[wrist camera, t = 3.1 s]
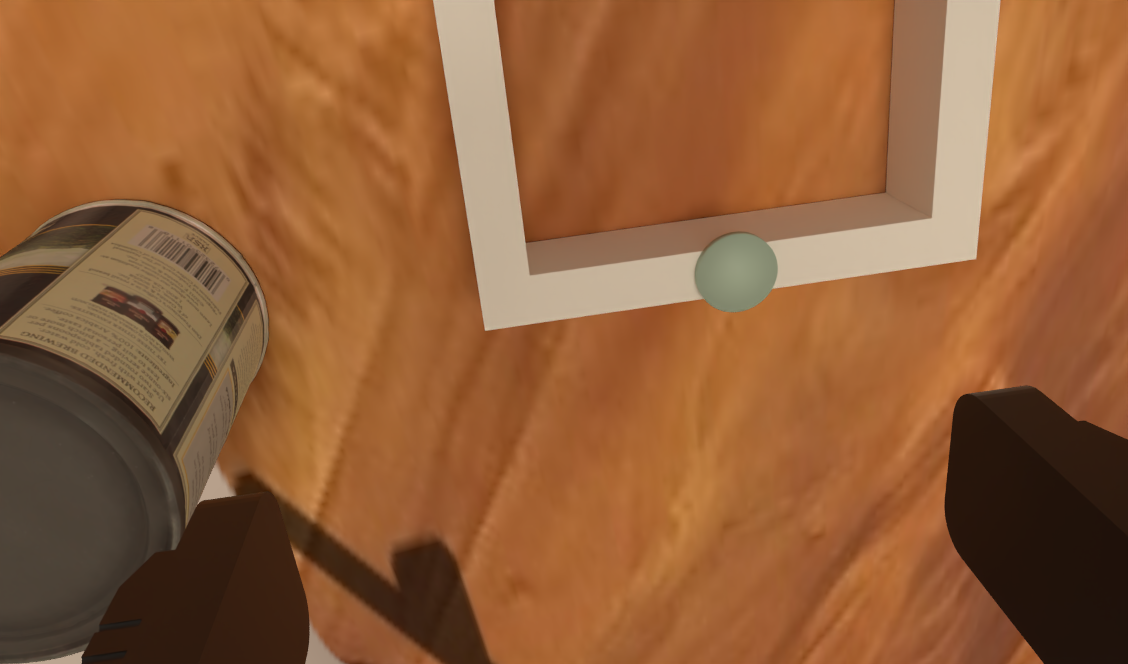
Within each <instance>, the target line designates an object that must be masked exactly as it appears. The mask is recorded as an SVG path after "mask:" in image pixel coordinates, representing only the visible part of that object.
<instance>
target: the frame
mask: <svg viewBox="0 0 1128 664" xmlns="http://www.w3.org/2000/svg"><path fill="white" fill-rule="evenodd" d="M433 3H434V9H435V16H436V22H437V28H438V35H439V41H440V47H441V54H442V60H443V67H444V73H445V79H446V86H447V92H448V98H449V105H450V111H451V117H452V124H453V130H454V136H455V143H456V149H457V155H458V162H459V168H460V174H461V181H462V187H463V194H464V200H465V206H466V213H467V219H468V225H469V232H470V238H471V244H472V251H473V257H474V263H475V270H476V276H477V282H478V289H479V295H480V302H481V308H482V314H483V321H484V327H485V331H487V330H494V329H501V328H508V327H514V326H521V325H528V324H535V323H542V322H549V321H555V320H562V319H569V318H576V317H583V316H590V315H596V314H603V313H610V312H617V311H624V310H631V309H637V308H644V307H651V306H658V305H665V304H672V303H678V302H685V301H692V300H699V299H705V300H706V302H708V303H709V304H710V305H711V306H713V307H714V308H716V309H718V310H721V311H725V312H740V311H745V310H748V309H750V308H752V307H754V306H756V305H757V304H759V303H760V302H761V301H763V300H764V299H765V298H766V297H767V295H768V294H769V293H770V291H771V290H772V289H774V288H781V287H788V286H795V285H801V284H808V283H815V282H822V281H829V280H836V279H842V278H849V277H856V276H863V275H870V274H877V273H883V272H890V271H897V270H904V269H911V268H918V267H924V266H931V265H938V264H945V263H952V262H959V261H965V260H972V259H976V254H977V244H978V233H979V222H980V212H981V201H982V191H983V180H984V169H985V159H986V148H987V138H988V127H989V116H990V106H991V95H992V85H993V74H994V64H995V53H996V42H997V32H998V21H999V11H1000V0H895V8H894V29H893V50H892V71H891V92H890V113H889V134H888V155H887V176H886V193H879V194H872V195H865V196H857V197H850V198H843V199H836V200H829V201H822V202H815V203H807V204H800V205H793V206H786V207H779V208H772V209H765V210H757V211H750V212H743V213H736V214H729V215H722V216H715V217H707V218H700V219H693V220H686V221H679V222H672V223H665V224H657V225H650V226H643V227H636V228H629V229H622V230H615V231H607V232H600V233H593V234H586V235H579V236H572V237H564V238H557V239H550V240H543V241H536V242H529V243H525V236H524V228H523V220H522V213H521V205H520V197H519V190H518V182H517V174H516V167H515V159H514V151H513V144H512V136H511V128H510V121H509V113H508V105H507V98H506V90H505V82H504V75H503V67H502V59H501V52H500V44H499V36H498V29H497V21H496V13H495V6H494V0H433Z"/></svg>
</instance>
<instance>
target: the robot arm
mask: <svg viewBox="0 0 1128 664" xmlns="http://www.w3.org/2000/svg"><path fill="white" fill-rule="evenodd" d="M945 517H946V523H947V527H948V531H949V534H950V537H951V539H952V542H953V544H954V546H955V548H956V550H957V552H958V553H959V555H960V556H961V558H962V559H963V560H964V562H965V563H966V564H967V566H968V567H969V568H970V569H971V571H972V572H973V573H974V575H975V576H976V577H977V578H978V580H979V581H980V582H981V583H982V585H983V586H984V587H985V589H986V590H987V591H988V592H989V594H990V595H991V596H992V598H993V599H994V600H995V601H996V603H997V604H998V605H999V607H1000V608H1001V609H1002V610H1003V612H1004V613H1005V614H1006V615H1007V617H1008V618H1009V619H1010V621H1011V622H1012V623H1013V624H1014V626H1015V627H1016V628H1017V630H1018V631H1019V632H1020V633H1021V635H1022V636H1023V637H1024V639H1025V640H1026V641H1027V642H1028V644H1029V645H1030V646H1031V648H1032V649H1033V650H1034V651H1035V653H1036V654H1037V655H1038V656H1039V658H1040V659H1041V660H1042V662H1043V663H1044V664H1128V440H1127V439H1125V438H1123V437H1120V436H1118V435H1116V434H1114V433H1111V432H1109V431H1107V430H1105V429H1102V428H1100V427H1098V426H1096V425H1093V424H1091V423H1089V422H1087V421H1076V420H1075V419H1074V418H1073V417H1071V416H1070V415H1069V414H1068V413H1066V412H1065V411H1064V410H1063V409H1062V408H1060V407H1059V406H1058V405H1057V404H1055V403H1054V402H1053V401H1052V400H1050V399H1049V398H1048V397H1047V396H1046V395H1044V394H1043V393H1042V392H1041V391H1039V390H1038V389H1036V388H1034V387H1032V386H1019V387H1012V388H1005V389H998V390H991V391H984V392H977V393H970V394H965V395H963V396H961V397H960V398H959V399H958V401H957V403H956V405H955V408H954V413H953V422H952V432H951V442H950V452H949V462H948V472H947V483H946V493H945ZM308 645H309V612H308V605H307V600H306V595H305V591H304V588H303V585H302V581H301V578H300V575H299V571H298V568H297V565H296V561H295V558H294V555H293V551H292V548H291V545H290V541H289V538H288V534H287V531H286V528H285V524H284V521H283V518H282V514H281V511H280V508H279V505H278V503H277V500H276V499H275V497H274V495H273V494H272V493H270V492H260V493H253V494H246V495H239V496H232V497H225V498H218V499H211V500H204V501H201V502H200V503H199V504H198V505H197V506H196V508H195V510H194V512H193V514H192V516H191V518H190V520H189V522H188V525H187V527H186V529H185V531H184V533H183V535H182V537H181V539H180V541H179V543H178V545H177V547H176V549H175V550H169V551H162V552H155V553H154V554H153V555H152V556H151V557H150V558H149V559H148V560H147V561H146V562H145V563H144V564H143V565H142V566H141V567H140V568H139V569H137V570H136V571H135V572H134V573H133V574H132V575H131V576H130V577H129V578H128V579H127V580H126V581H125V582H124V583H123V584H122V585H121V586H120V587H119V588H118V590H117V592H116V594H115V596H114V598H113V599H112V601H111V603H110V605H109V607H108V609H107V611H106V612H105V614H104V616H103V618H102V620H101V622H100V624H99V632H96V633H94V635H93V637H92V638H91V640H90V642H89V644H88V646H87V648H86V650H85V651H84V654H83V655H82V664H305V661H306V657H307V652H308Z"/></svg>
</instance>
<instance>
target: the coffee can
mask: <svg viewBox="0 0 1128 664" xmlns="http://www.w3.org/2000/svg"><path fill="white" fill-rule="evenodd" d="M268 339H269V331H268V313H267V307H266V303H265V299H264V296H263V293H262V290H261V288H260V285H259V283H258V281H257V279H256V277H255V275H254V273H253V272H252V270H251V269H250V267H249V266H248V264H247V263H246V261H245V260H244V259H243V257H242V255H241V254H240V253H239V252H238V251H237V250H236V249H235V248H234V247H233V246H232V245H231V244H229V243H228V242H227V241H226V240H225V239H224V238H223V237H222V236H220V235H219V234H218V233H217V232H215V231H214V230H212V229H211V228H210V227H208V226H207V225H205V224H204V223H202V222H200V221H198V220H197V219H195V218H193V217H191V216H189V215H187V214H185V213H182V212H180V211H177V210H174V209H172V208H169V207H166V206H162V205H158V204H155V203H152V202H146V201H135V200H104V201H97V202H92V203H87V204H84V205H80V206H77V207H74V208H71V209H69V210H67V211H64V212H62V213H60V214H58V215H56V216H54V217H52V218H50V219H49V220H48V221H46V222H45V223H44V224H42V225H41V226H40V227H39V228H38V229H37V230H36V231H35V232H34V233H33V234H32V235H31V236H29V237H28V238H27V239H25V240H24V241H23V242H22V243H20V244H19V245H17V246H16V247H14V248H13V249H11V250H10V251H9V252H7V253H6V254H4V255H3V256H1V257H0V664H9V663H10V664H13V663H29V662H38V661H45V660H51V659H56V658H61V657H64V656H68V655H72V654H75V653H78V652H81V651H85V650H86V648H87V646H88V644H89V642H90V640H91V638H92V637H93V635H94V633H96V632H99V624H100V622H101V620H102V618H103V616H104V614H105V612H106V611H107V609H108V607H109V605H110V603H111V601H112V599H113V598H114V596H115V594H116V592H117V590H118V588H119V587H120V586H121V585H122V584H123V583H124V582H125V581H126V580H127V579H128V578H129V577H130V576H131V575H132V574H133V573H134V572H135V571H136V570H137V569H139V568H140V567H141V566H142V565H143V564H144V563H145V562H146V561H147V560H148V559H149V558H150V557H151V556H152V555H153V554H154V553H155V552H162V551H169V550H175V549H176V547H177V545H178V543H179V541H180V539H181V537H182V535H183V533H184V531H185V529H186V527H187V525H188V522H189V520H190V518H191V516H192V514H193V512H194V510H195V508H196V506H197V503H198V501H199V499H200V497H201V494H202V492H203V490H204V487H205V485H206V483H207V480H208V478H209V476H210V474H211V471H212V469H213V467H214V465H215V463H216V460H217V458H218V456H219V454H220V451H221V449H222V447H223V445H224V443H225V441H226V438H227V436H228V434H229V431H230V429H231V426H232V424H233V422H234V420H235V417H236V415H237V413H238V410H239V408H240V406H241V404H242V401H243V399H244V397H245V395H246V392H247V390H248V388H249V385H250V383H251V382H252V381H253V379H254V378H255V376H256V374H257V372H258V370H259V368H260V366H261V364H262V361H263V358H264V355H265V352H266V347H267V343H268Z"/></svg>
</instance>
